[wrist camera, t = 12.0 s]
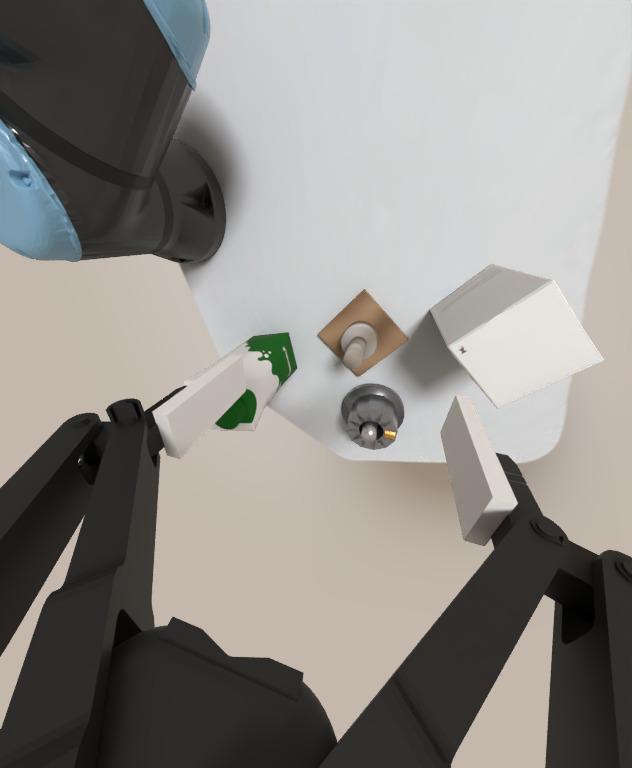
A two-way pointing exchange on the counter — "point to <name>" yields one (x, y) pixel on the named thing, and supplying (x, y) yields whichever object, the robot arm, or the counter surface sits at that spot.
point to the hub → (370, 426)
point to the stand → (362, 334)
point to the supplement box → (513, 333)
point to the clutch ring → (376, 411)
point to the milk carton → (256, 379)
